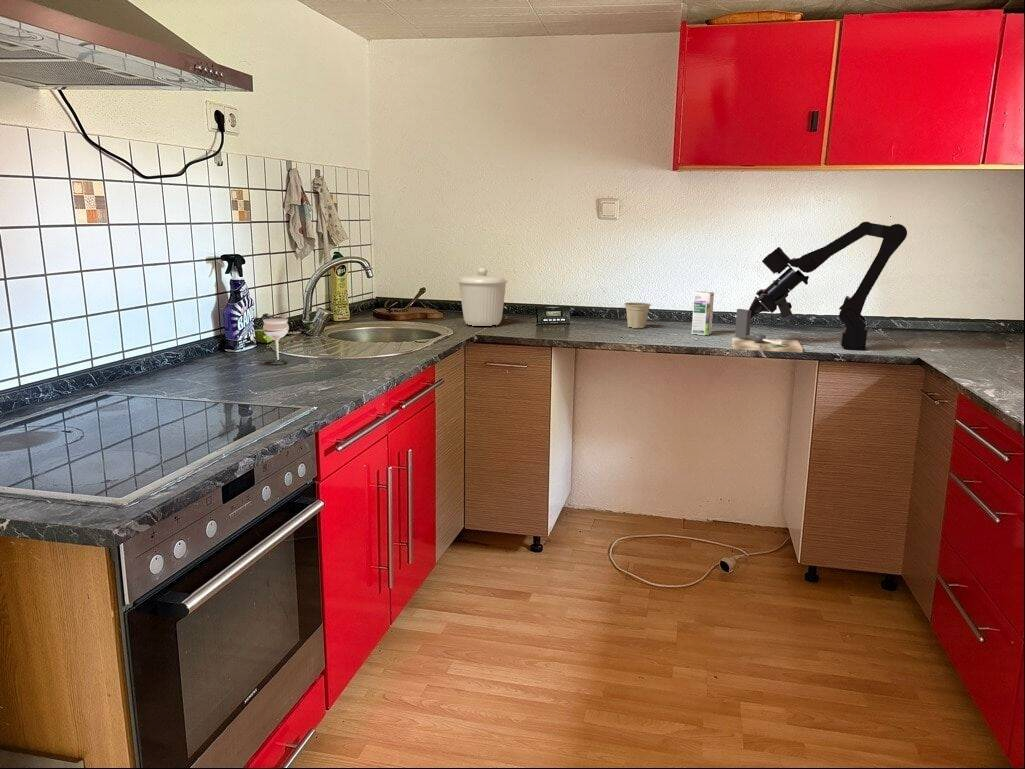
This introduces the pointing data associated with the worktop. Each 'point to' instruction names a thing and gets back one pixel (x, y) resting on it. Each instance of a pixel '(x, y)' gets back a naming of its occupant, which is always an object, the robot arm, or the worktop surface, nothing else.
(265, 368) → the worktop surface
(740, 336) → the peg
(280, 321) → the wineglass
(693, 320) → the syrup box
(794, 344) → the board
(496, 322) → the canister
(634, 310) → the flower pot
